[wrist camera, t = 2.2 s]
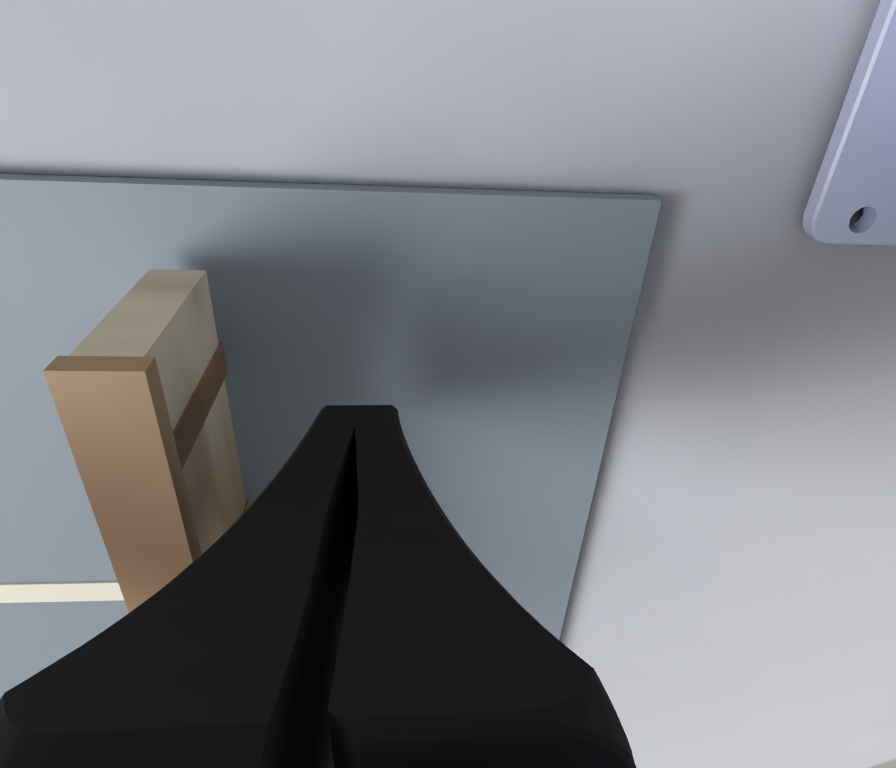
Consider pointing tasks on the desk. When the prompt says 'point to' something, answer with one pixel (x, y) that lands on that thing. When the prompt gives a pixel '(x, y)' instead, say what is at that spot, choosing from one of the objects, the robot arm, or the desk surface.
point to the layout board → (326, 358)
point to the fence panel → (153, 429)
